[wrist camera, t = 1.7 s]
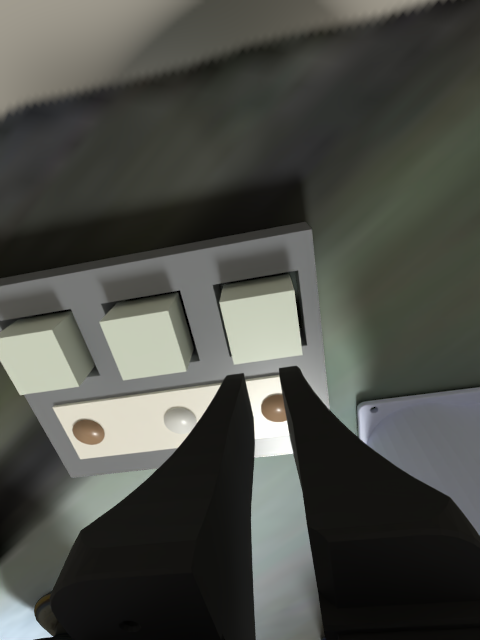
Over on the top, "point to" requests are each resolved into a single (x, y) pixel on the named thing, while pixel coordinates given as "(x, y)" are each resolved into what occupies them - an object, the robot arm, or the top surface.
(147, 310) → the middle button
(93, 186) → the top surface
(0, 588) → the top surface
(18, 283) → the button board
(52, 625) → the apothecary jar
